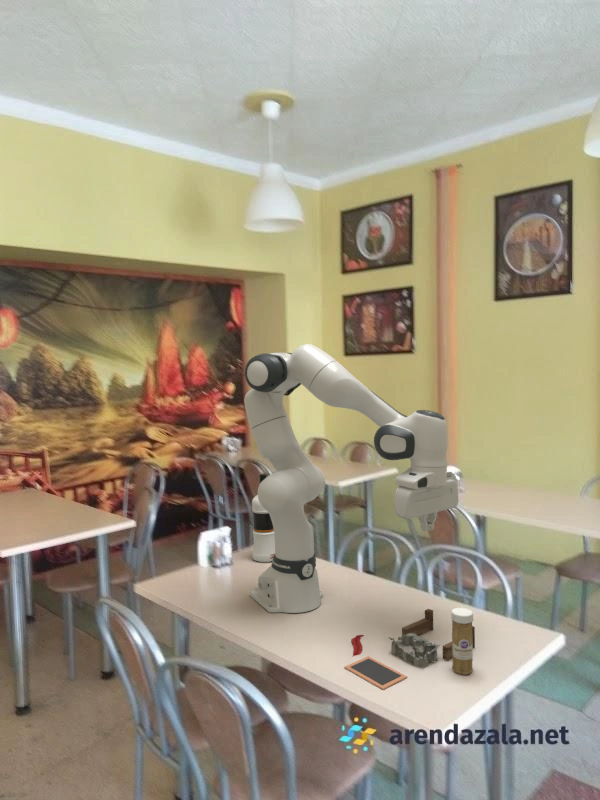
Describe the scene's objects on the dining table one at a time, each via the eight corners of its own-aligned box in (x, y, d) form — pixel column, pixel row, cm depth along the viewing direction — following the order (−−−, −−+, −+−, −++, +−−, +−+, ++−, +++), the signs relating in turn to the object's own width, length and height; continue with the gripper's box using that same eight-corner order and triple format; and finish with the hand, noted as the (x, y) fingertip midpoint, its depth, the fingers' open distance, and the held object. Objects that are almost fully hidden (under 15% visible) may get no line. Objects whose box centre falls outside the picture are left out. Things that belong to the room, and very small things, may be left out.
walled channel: (402, 639, 150) (401, 619, 150) (428, 627, 156) (428, 608, 156) (447, 660, 139) (447, 639, 139) (474, 647, 145) (474, 626, 145)
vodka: (252, 555, 218) (250, 471, 216) (278, 553, 219) (276, 471, 217) (252, 563, 209) (249, 477, 207) (279, 562, 209) (276, 476, 207)
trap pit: (344, 668, 137) (344, 666, 137) (368, 657, 142) (368, 655, 142) (383, 690, 128) (383, 688, 128) (407, 677, 132) (407, 676, 132)
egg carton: (386, 653, 144) (386, 636, 144) (408, 643, 149) (408, 627, 148) (420, 671, 136) (419, 653, 135) (442, 660, 140) (442, 643, 140)
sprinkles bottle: (457, 676, 132) (457, 616, 131) (448, 666, 137) (447, 607, 136) (477, 674, 133) (476, 614, 132) (467, 663, 138) (466, 605, 137)
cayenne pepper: (357, 635, 154) (357, 627, 154) (374, 638, 152) (374, 631, 152) (338, 656, 144) (338, 648, 143) (356, 660, 141) (356, 652, 141)
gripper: (445, 468, 161) (444, 520, 162) (390, 478, 148) (389, 534, 150) (465, 472, 156) (463, 525, 157) (410, 483, 143) (409, 540, 145)
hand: (427, 530), depth 153 cm, fingers closed
